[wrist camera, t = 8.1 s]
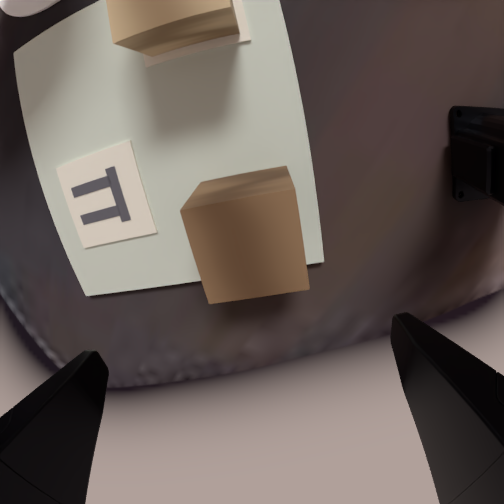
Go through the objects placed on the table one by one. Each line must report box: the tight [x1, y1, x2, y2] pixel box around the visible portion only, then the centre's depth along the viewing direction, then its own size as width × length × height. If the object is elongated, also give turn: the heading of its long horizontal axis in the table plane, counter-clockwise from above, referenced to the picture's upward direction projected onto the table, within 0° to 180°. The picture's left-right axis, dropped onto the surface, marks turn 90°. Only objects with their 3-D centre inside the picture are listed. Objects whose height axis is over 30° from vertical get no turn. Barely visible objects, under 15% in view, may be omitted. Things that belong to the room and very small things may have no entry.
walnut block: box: [180, 166, 310, 304], centre depth 16 cm, size 5×5×5 cm
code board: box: [13, 0, 324, 296], centre depth 17 cm, size 18×20×1 cm
